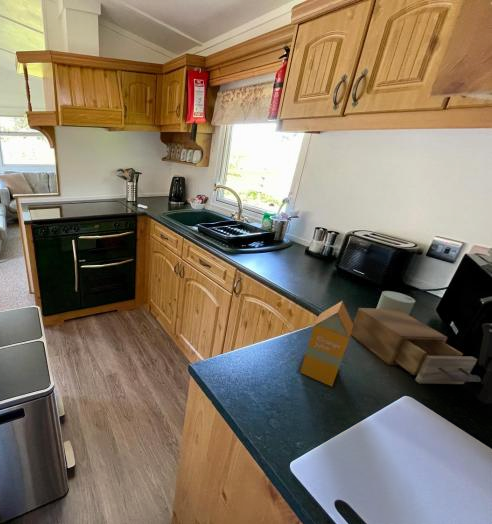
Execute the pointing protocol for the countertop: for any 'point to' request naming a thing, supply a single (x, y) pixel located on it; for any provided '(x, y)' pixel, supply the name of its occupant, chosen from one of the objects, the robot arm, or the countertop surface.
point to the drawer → (435, 362)
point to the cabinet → (389, 331)
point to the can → (396, 301)
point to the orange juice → (327, 344)
